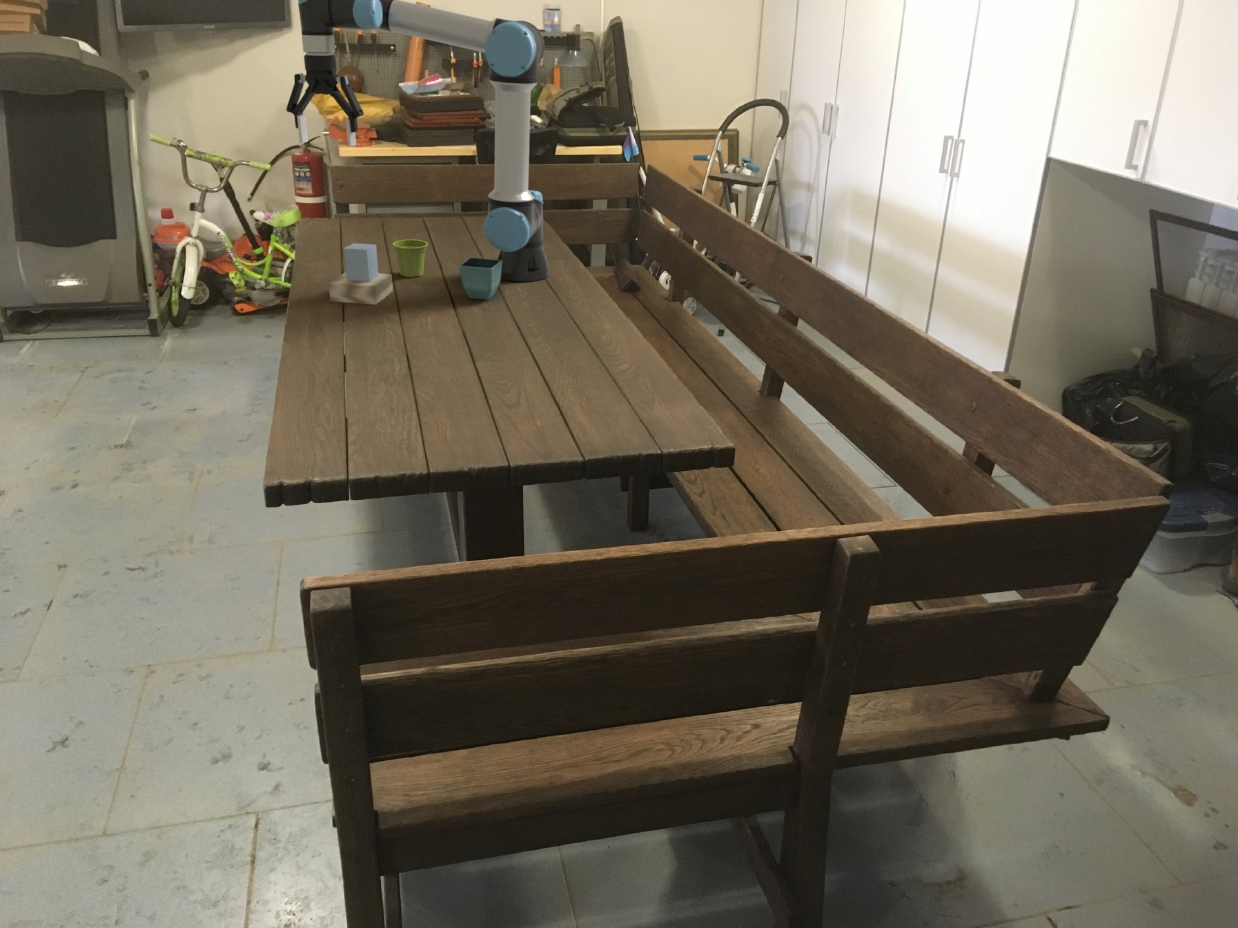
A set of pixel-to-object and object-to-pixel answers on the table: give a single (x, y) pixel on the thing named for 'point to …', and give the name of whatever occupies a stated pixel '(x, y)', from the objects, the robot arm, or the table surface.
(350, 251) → the slate blue block
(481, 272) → the flower pot
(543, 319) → the table surface
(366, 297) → the birch block
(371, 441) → the table surface
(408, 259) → the plant pot
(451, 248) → the table surface
